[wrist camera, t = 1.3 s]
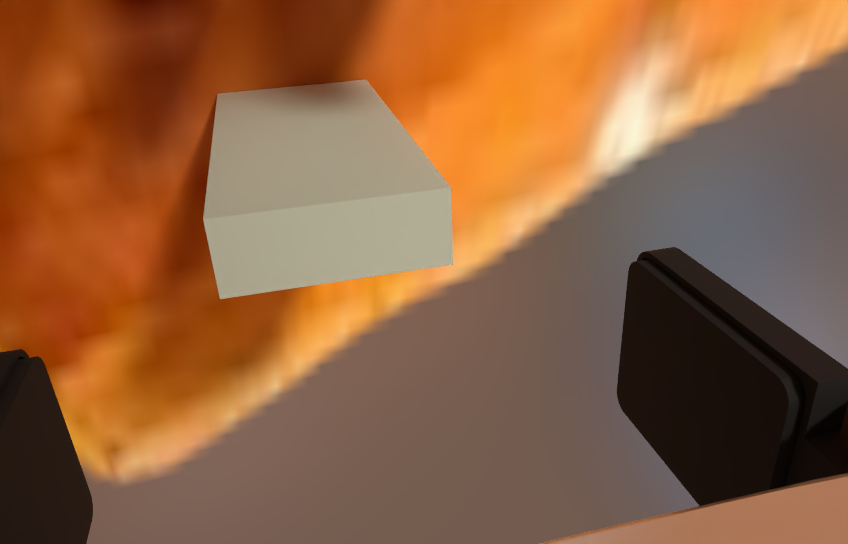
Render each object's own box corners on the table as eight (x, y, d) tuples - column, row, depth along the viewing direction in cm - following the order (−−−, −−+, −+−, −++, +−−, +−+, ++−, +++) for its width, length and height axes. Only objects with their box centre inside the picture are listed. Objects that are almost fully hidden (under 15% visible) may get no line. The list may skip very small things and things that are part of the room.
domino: (217, 93, 23) (203, 219, 13) (365, 79, 24) (450, 187, 14) (227, 146, 24) (219, 299, 14) (370, 130, 25) (453, 264, 15)
